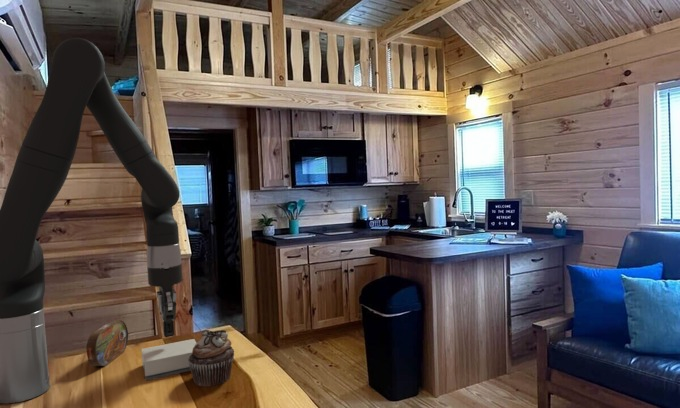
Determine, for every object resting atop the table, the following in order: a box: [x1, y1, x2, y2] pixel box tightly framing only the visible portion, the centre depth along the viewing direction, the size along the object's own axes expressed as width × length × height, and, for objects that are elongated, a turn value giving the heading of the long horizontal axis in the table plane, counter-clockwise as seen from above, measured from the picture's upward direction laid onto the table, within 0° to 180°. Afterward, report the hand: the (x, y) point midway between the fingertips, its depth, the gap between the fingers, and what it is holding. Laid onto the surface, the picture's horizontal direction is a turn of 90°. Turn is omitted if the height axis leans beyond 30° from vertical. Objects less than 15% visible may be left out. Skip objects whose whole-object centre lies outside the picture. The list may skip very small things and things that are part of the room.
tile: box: [141, 338, 197, 377], centre depth 105 cm, size 12×4×9 cm
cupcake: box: [188, 329, 235, 387], centre depth 98 cm, size 10×10×10 cm
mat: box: [142, 366, 191, 381], centre depth 105 cm, size 12×8×1 cm
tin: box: [85, 320, 129, 367], centre depth 111 cm, size 15×3×8 cm, turn 179°
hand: (168, 335), depth 107 cm, fingers closed
